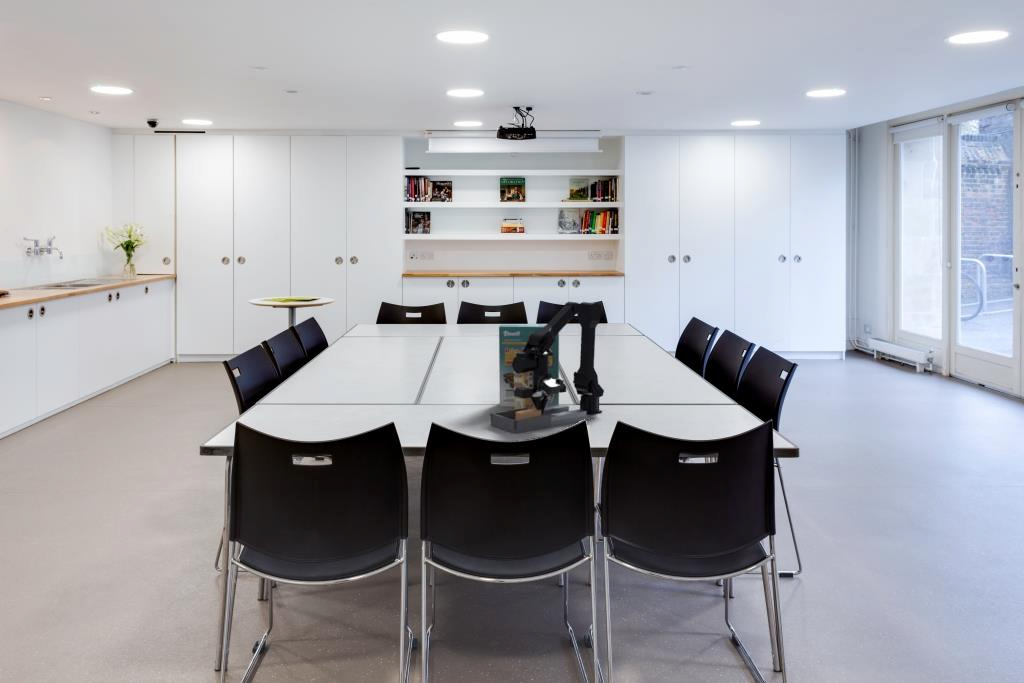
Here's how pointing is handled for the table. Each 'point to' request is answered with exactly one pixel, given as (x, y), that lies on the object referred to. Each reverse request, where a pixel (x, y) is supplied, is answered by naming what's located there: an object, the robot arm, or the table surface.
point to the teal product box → (509, 345)
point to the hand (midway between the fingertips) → (540, 414)
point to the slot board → (564, 415)
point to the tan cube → (523, 415)
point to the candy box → (523, 381)
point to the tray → (519, 421)
